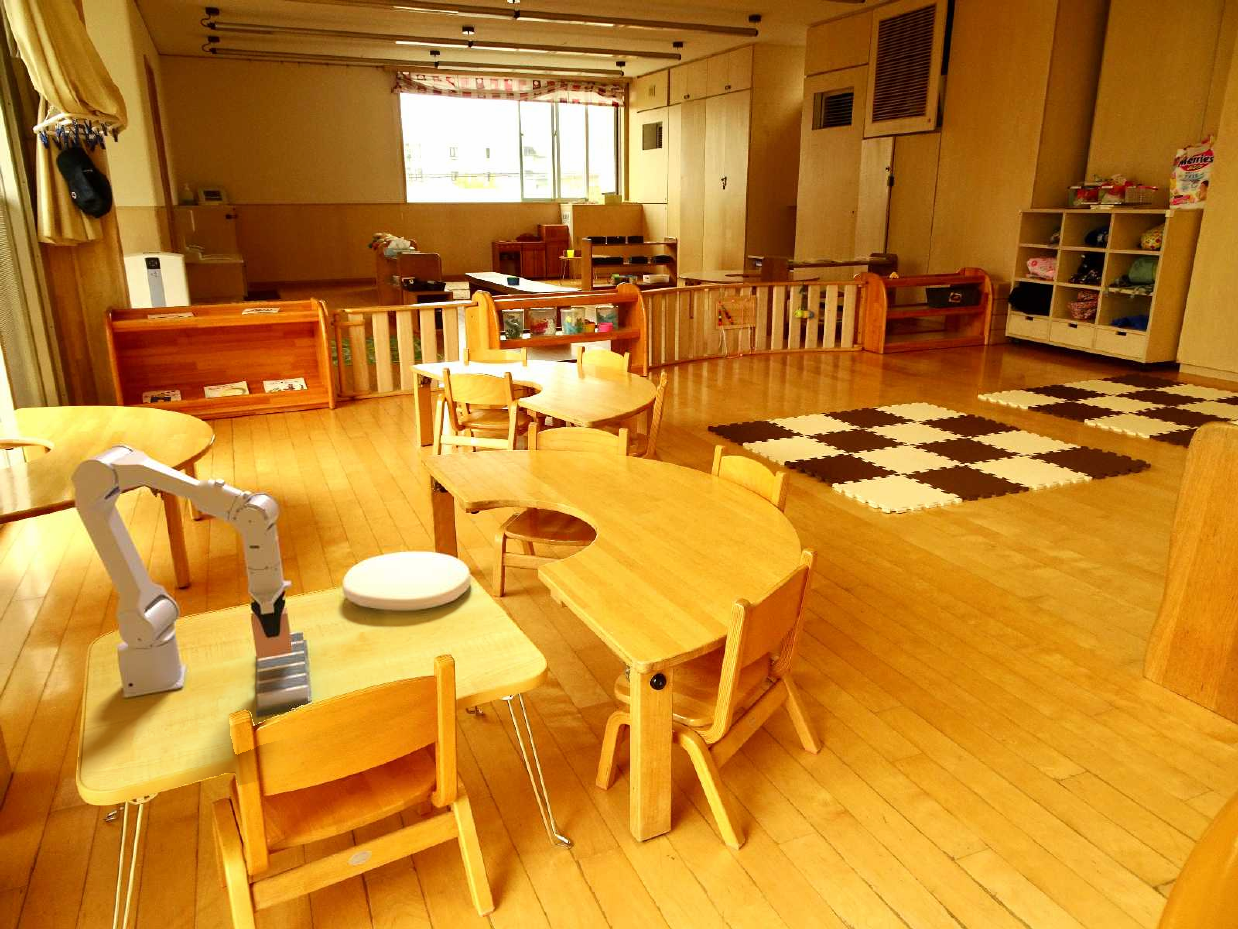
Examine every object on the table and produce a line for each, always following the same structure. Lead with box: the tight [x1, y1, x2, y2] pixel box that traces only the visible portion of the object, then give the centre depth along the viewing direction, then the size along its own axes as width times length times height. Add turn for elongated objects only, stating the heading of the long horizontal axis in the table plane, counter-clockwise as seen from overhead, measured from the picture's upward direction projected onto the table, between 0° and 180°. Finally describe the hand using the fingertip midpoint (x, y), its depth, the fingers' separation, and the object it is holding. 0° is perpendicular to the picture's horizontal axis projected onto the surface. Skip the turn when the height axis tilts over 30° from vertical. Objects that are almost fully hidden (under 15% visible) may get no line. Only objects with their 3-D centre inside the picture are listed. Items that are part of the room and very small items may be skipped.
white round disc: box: [342, 551, 472, 611], centre depth 191 cm, size 28×6×27 cm
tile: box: [250, 607, 293, 660], centre depth 153 cm, size 6×2×8 cm, turn 111°
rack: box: [255, 630, 313, 718], centre depth 156 cm, size 9×23×4 cm, turn 22°
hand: (273, 632), depth 153 cm, fingers closed on tile, 2 cm apart
